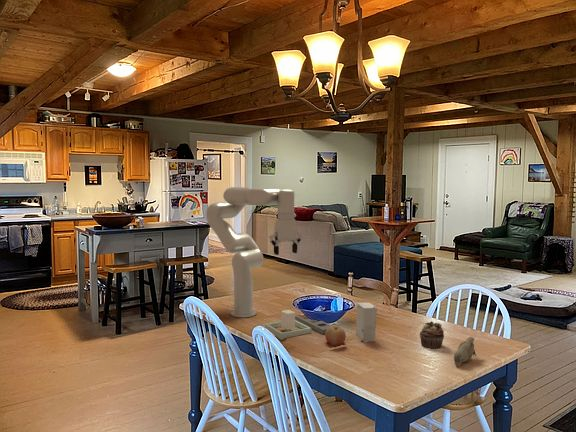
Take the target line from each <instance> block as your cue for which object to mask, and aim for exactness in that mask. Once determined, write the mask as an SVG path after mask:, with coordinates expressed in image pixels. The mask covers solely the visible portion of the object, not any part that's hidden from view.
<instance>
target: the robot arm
mask: <svg viewBox="0 0 576 432" xmlns="http://www.w3.org/2000/svg"><path fill="white" fill-rule="evenodd" d="M222 197H223V199H224V201H218V202H214V203H211V204H209V206H208V207H207V208H206V211H205V212H206V213H205V215H206V221H207V224H208V225H209V227H210V229H212V232H214V233H215V235H216V236H217V238H218V240H219V241H220V243H221V244H222V246H223V247H224V249H225V250H226V252H228V254H234V255H232V258H231V266H232V273H233V310H231V311H230V315H231V316H232V317H234V318H242V319H243V318H244V319H245V318H250V317H251V318H252V317H254V316H256V315H257V311H256V310H255V309H254V277H253V274H252V271H251V270H254V269H258V268H260V267H262V265H263V264H264V255H263V252H262V250H260V247H259V246H258V245H257V243H256V241H255V240H254V239H253V237H252V236H251V235H249V233H244V232H242V233H241V232H240V233H237V232H236V231H235V229H234V228H233V227H232V226H231V224H230V223H228V222H227V221H226V220H224V219H232V218H235V217H236V216H238V215H239V214H240V213H241V212H242V210H244V209H245V207H246V206H277V219H275V222H274V223H275V224H274V230H273V233H272V234H270V235H269V236H268V239H269V241H270V243H271V245H272V246H273V254H274V255H277V256H279V254H280V246H279V245H280V243H282V242H291V243H292V246H291V248H292V249H291V251H292V253H294V254H298V245H299V243H300V242H301V241H302V237H303V234H302V233H300V232H297V230H298V229H297V221H296V219H295V218H296V217H297V214H296V213H295V191H294V190H292V189H280V188H267V189H266V188H254V187H249V186H247V187H243V186H230V187H229V188H226V189H225V190H224V192H223V196H222Z"/></svg>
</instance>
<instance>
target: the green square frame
mask: <svg viewBox="0 0 576 432" xmlns="http://www.w3.org/2000/svg"><path fill="white" fill-rule="evenodd" d="M279 327H281V320H280V321H275V322H269V323H265V324H264V329H265V328H267V329H268V330H269V331H270V332H272V333H273V334H274V335H275V336H276V337H277V339H278V340H280V341H286V340H288V339H287V338H292V337H296V336H301V335H307V334H312V329H311V328H310V327H308V326H306V325H304V324H302V323H300V322H298V321H296V320H295V327H297V328H299V329H295V330H294V329H293V330H291V331H283V332H282V331H280V330H279V329H277V328H279ZM275 336H274V337H275ZM276 337H275V338H276Z"/></svg>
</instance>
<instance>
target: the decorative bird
mask: <svg viewBox="0 0 576 432" xmlns="http://www.w3.org/2000/svg"><path fill="white" fill-rule="evenodd" d="M474 341H475V338H474V337H473V336H470V337H468V338H466V340H464V341H463V342H461V343H460V344H459V345H458V347H457V349H456V351H455V353H454V355H453V361H454V365H455V367H456V368H459V367H460V366H461V364H462V363H464V362H468V361H470V360H471V359H472V358H473V356H477V354H476V349H475V343H474Z"/></svg>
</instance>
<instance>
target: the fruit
mask: <svg viewBox="0 0 576 432" xmlns="http://www.w3.org/2000/svg"><path fill="white" fill-rule="evenodd" d="M324 336H325V340H326V342H327V343H328V344H329V345H331V346H334V347H336V348H337V347H340V346H342V345H343V344H344V343H345V341H346V339H347V338H346V336H347V335H346V332H345V330H344V329H343V328H342V327H341V326H339V325H335V324H334V325H332V326H330V327H329V328H328V329H327V330H326V333H325V334H324Z"/></svg>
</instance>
